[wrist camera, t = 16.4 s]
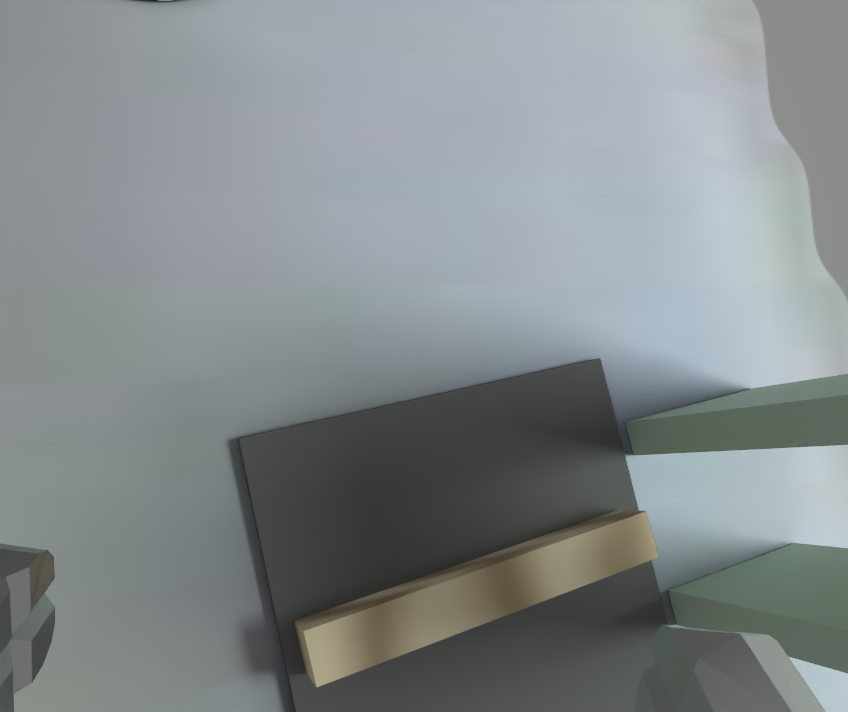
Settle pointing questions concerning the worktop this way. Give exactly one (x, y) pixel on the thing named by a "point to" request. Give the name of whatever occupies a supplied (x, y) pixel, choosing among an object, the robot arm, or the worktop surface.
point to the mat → (457, 541)
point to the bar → (470, 594)
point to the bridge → (780, 569)
